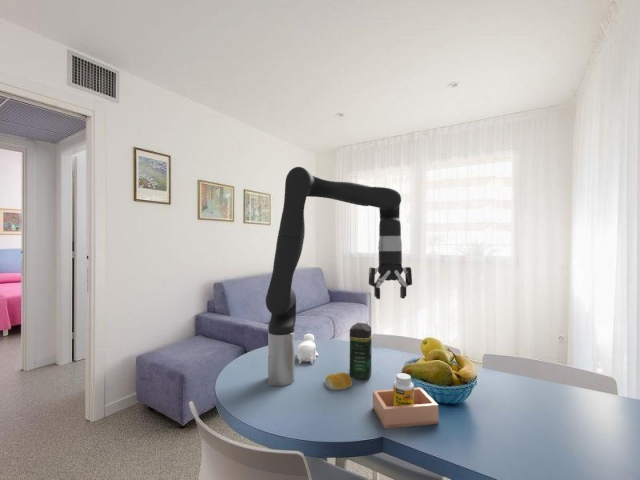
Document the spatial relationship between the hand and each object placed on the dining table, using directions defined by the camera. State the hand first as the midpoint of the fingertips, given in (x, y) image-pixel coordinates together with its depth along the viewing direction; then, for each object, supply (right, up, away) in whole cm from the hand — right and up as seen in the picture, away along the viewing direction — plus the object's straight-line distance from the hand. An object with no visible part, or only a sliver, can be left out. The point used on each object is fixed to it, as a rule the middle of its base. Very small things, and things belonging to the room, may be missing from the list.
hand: (390, 298), depth 100 cm
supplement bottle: (0, -29, -16) cm, 33 cm away
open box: (0, -30, -16) cm, 34 cm away
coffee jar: (-8, -31, +10) cm, 33 cm away
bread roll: (-17, -31, +3) cm, 35 cm away
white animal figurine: (-29, -31, +28) cm, 51 cm away
